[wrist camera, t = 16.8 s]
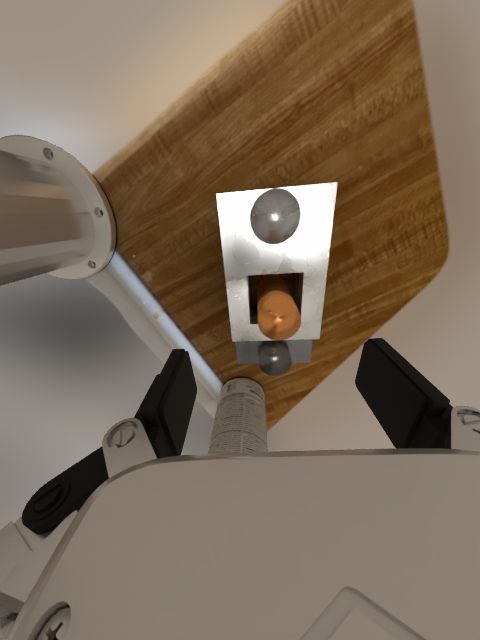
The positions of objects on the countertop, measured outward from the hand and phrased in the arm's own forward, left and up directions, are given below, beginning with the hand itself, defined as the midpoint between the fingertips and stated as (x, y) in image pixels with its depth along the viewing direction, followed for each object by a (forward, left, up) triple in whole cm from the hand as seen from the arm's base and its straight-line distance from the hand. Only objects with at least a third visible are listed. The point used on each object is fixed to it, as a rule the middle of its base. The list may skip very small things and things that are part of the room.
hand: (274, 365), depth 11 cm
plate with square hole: (+1, +2, -13) cm, 14 cm away
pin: (+1, 0, -14) cm, 14 cm away
